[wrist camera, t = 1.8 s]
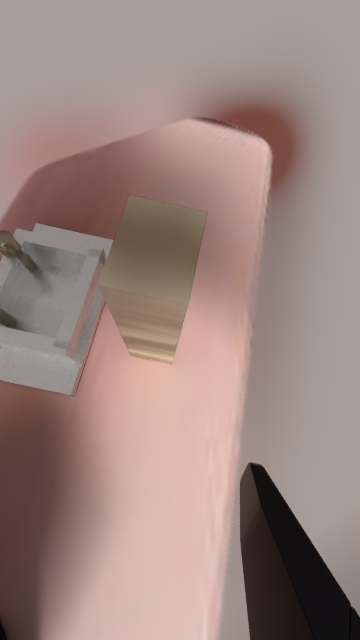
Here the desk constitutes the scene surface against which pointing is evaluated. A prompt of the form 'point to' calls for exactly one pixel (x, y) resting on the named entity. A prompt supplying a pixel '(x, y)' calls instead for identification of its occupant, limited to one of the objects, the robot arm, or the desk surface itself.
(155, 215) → the tan wooden block
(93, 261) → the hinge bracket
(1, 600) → the desk surface
